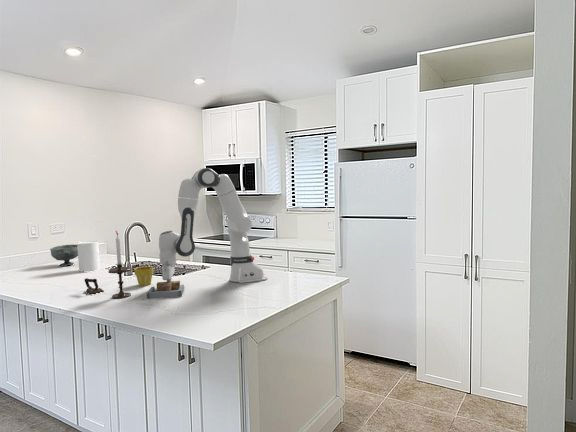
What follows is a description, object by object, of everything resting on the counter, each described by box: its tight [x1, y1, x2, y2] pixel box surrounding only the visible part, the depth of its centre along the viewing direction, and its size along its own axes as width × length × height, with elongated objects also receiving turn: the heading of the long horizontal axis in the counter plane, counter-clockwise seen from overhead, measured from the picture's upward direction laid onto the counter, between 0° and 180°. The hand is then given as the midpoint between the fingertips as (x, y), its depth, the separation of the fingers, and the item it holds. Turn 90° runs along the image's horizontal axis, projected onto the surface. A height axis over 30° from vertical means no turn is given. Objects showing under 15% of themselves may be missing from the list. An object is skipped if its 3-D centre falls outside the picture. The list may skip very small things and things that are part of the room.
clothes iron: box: [84, 277, 105, 295], centre depth 227 cm, size 7×11×10 cm, turn 57°
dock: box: [146, 284, 185, 300], centre depth 216 cm, size 17×14×3 cm
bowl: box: [49, 244, 78, 267], centre depth 316 cm, size 20×19×15 cm
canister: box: [76, 240, 101, 272], centre depth 292 cm, size 14×14×20 cm
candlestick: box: [108, 230, 132, 300], centre depth 214 cm, size 11×11×35 cm
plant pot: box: [134, 266, 154, 287], centre depth 241 cm, size 10×10×10 cm
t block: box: [156, 280, 181, 292], centre depth 223 cm, size 12×12×4 cm
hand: (169, 284), depth 230 cm, fingers closed
